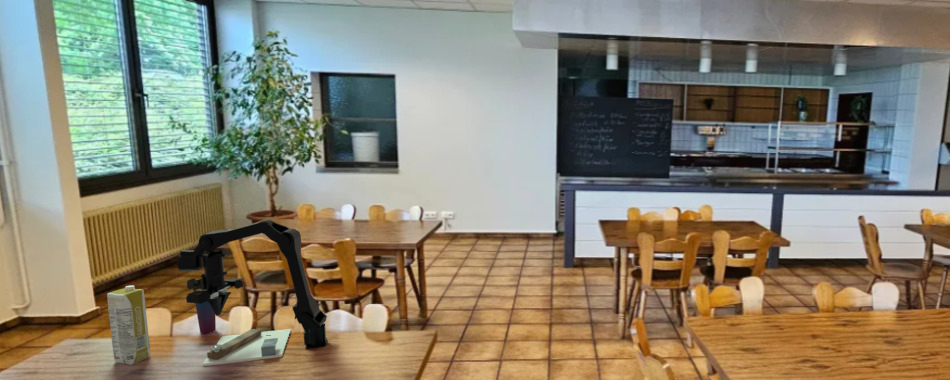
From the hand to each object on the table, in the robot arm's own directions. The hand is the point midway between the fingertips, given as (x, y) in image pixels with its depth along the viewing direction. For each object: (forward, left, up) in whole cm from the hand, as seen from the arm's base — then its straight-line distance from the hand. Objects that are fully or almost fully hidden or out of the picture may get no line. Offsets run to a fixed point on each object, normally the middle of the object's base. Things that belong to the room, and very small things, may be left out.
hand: (218, 315), depth 165 cm
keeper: (-17, +10, -11) cm, 23 cm away
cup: (+9, -18, -12) cm, 23 cm away
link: (-5, +2, -10) cm, 12 cm away
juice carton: (+26, +1, -12) cm, 28 cm away
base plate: (-10, +2, -11) cm, 15 cm away
